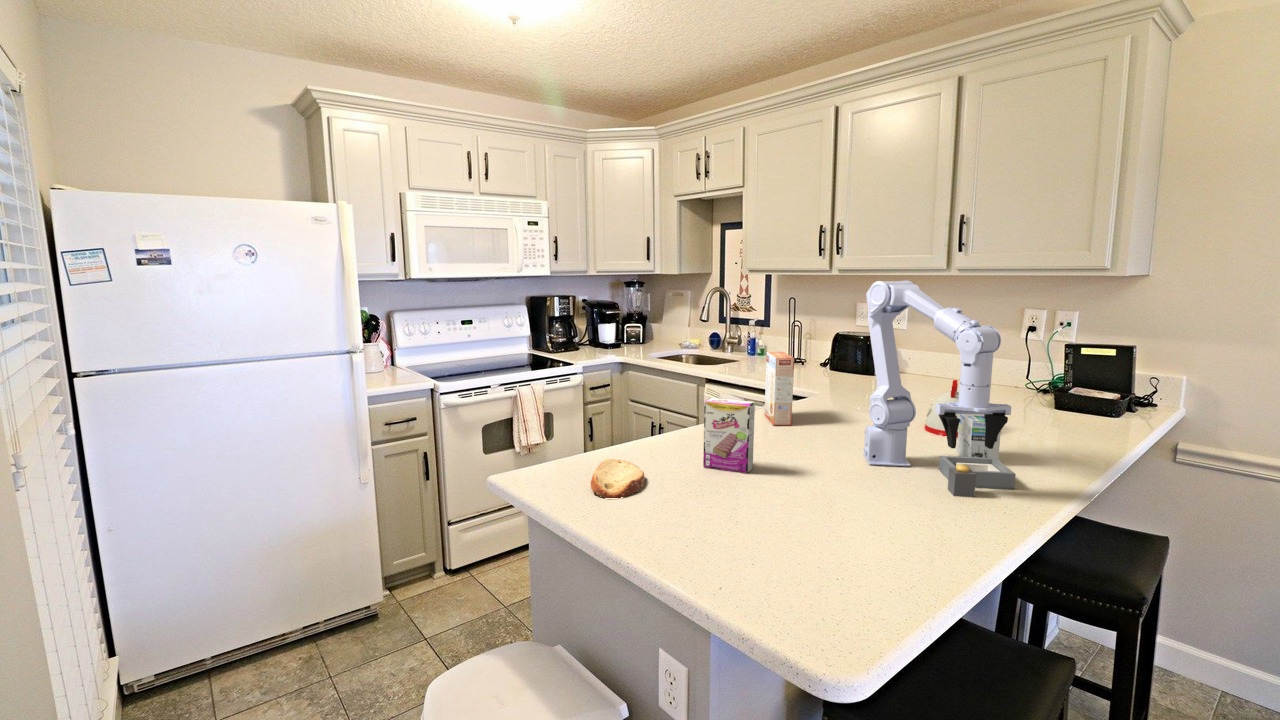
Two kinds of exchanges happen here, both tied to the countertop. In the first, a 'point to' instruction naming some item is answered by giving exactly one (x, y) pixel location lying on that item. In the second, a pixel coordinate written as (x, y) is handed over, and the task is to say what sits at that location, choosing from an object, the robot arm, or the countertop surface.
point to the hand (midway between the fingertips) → (970, 447)
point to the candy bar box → (728, 434)
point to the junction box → (982, 471)
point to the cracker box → (779, 388)
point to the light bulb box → (975, 437)
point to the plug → (961, 481)
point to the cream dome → (933, 419)
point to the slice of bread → (616, 479)
